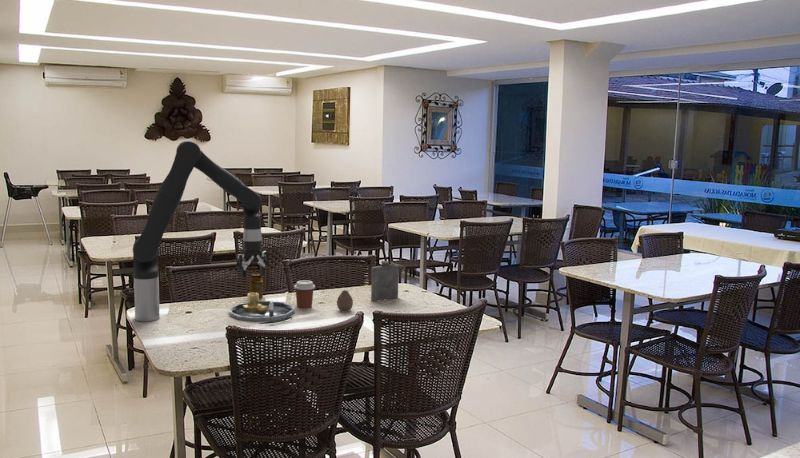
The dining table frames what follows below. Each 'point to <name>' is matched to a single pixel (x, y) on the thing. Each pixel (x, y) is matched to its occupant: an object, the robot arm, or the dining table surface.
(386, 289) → the flask
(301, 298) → the coffee cup
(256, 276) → the condiment
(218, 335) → the dining table surface
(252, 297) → the planet gear
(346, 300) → the brown rounded lump
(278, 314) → the tray
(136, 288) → the robot arm
